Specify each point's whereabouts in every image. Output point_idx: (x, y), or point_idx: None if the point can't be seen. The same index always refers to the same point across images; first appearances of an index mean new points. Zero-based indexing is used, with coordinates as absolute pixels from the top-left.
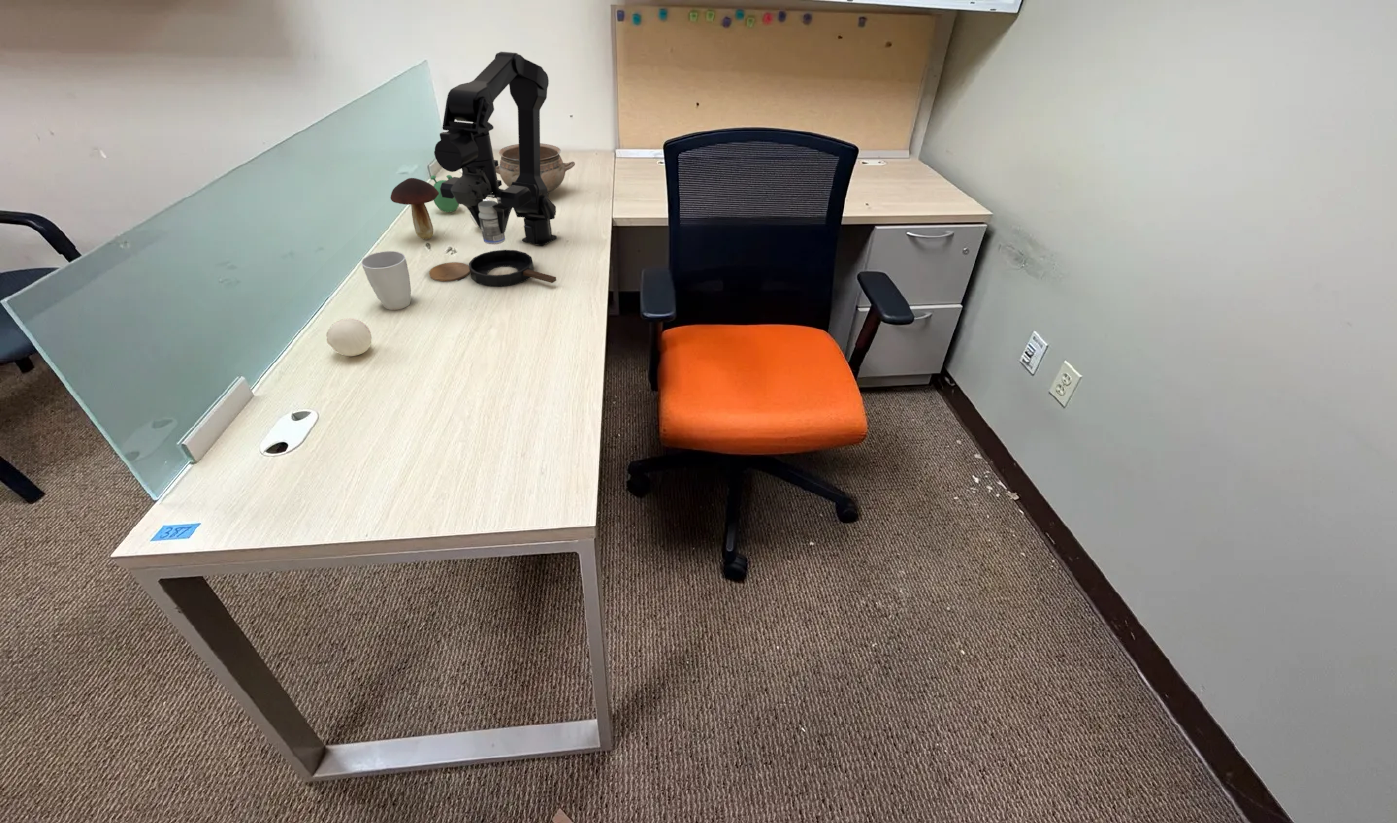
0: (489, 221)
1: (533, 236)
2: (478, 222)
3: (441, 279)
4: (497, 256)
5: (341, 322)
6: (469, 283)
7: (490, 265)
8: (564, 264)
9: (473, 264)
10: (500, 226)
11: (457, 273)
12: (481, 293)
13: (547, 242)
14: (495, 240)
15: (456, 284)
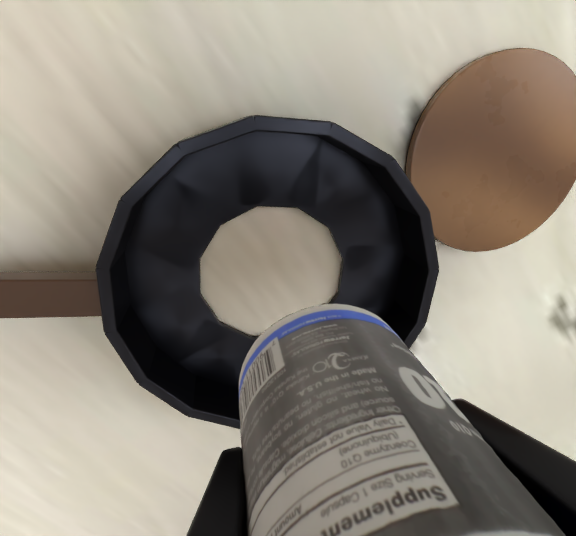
0: (335, 533)
1: None
2: (522, 453)
3: (495, 53)
4: None
5: None
6: (348, 102)
7: (361, 297)
8: (90, 458)
9: (413, 233)
10: (216, 520)
11: (453, 152)
12: (211, 21)
13: None
14: (264, 350)
15: (403, 59)
